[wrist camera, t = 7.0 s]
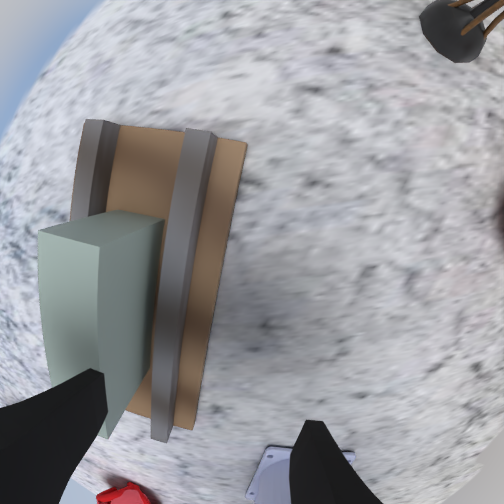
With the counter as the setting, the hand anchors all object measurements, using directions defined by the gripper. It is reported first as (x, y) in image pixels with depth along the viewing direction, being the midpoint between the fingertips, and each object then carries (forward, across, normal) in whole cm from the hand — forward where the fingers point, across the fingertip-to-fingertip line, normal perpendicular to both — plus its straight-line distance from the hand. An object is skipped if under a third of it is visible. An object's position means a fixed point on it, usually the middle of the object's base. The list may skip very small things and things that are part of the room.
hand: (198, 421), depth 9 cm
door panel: (+8, +6, 0) cm, 10 cm away
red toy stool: (+10, +8, +27) cm, 30 cm away
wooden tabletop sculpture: (+9, -10, -22) cm, 26 cm away
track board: (+9, +6, 0) cm, 11 cm away
